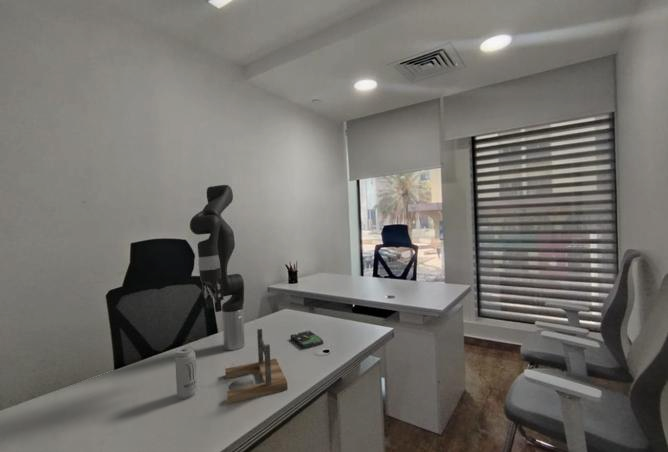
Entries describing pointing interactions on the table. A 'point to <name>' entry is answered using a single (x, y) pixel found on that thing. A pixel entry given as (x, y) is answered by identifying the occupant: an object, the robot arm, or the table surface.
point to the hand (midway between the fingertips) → (214, 309)
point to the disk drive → (306, 340)
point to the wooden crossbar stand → (268, 371)
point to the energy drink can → (186, 373)
